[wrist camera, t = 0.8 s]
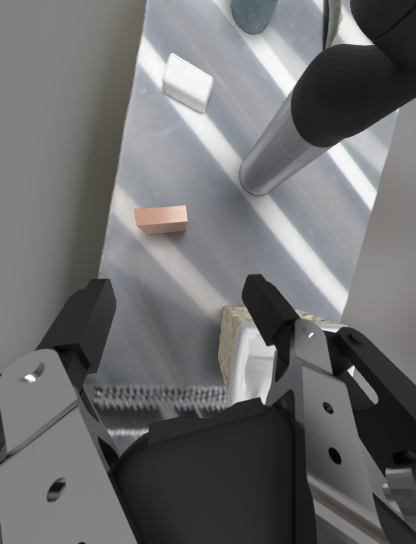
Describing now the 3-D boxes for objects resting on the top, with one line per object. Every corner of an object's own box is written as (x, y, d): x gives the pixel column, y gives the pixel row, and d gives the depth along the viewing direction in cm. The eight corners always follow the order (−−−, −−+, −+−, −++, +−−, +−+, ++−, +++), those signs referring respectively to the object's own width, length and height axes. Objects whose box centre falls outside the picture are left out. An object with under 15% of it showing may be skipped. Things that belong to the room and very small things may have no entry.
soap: (162, 93, 33) (160, 77, 30) (171, 67, 33) (170, 48, 30) (203, 116, 35) (205, 103, 32) (211, 91, 34) (214, 76, 31)
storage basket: (303, 305, 44) (365, 330, 29) (294, 362, 45) (349, 412, 30) (219, 300, 39) (242, 327, 25) (211, 363, 40) (229, 423, 26)
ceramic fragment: (322, -13, 36) (339, -44, 33) (341, -7, 37) (359, -36, 34) (319, 58, 38) (334, 37, 34) (337, 62, 39) (354, 41, 35)
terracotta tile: (185, 230, 36) (187, 221, 26) (148, 234, 35) (136, 225, 25) (183, 219, 36) (185, 205, 26) (146, 222, 34) (133, 208, 25)
